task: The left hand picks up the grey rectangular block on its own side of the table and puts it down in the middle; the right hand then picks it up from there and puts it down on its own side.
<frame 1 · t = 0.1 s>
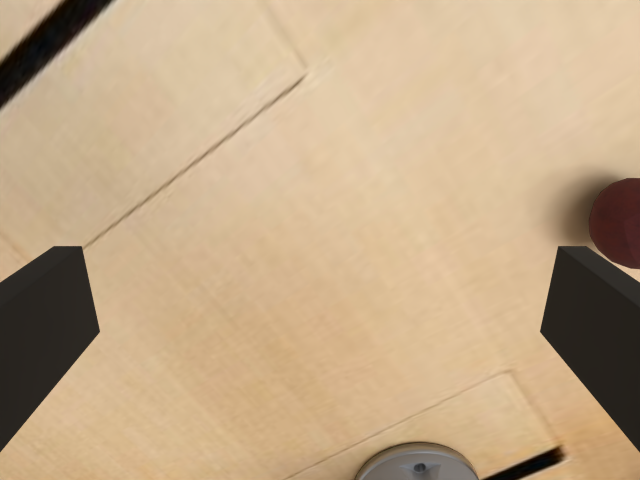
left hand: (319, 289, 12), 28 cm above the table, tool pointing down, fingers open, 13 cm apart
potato: (611, 209, 41), on the table
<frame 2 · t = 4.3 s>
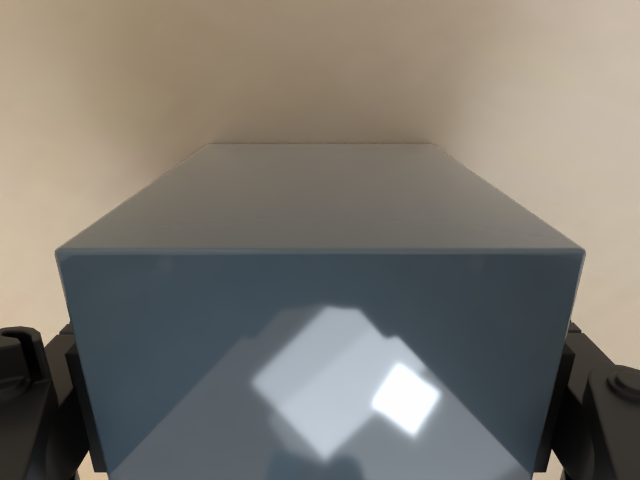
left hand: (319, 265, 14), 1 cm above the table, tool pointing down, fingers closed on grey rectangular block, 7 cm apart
grey rectangular block: (320, 248, 15), on the table, touching left hand
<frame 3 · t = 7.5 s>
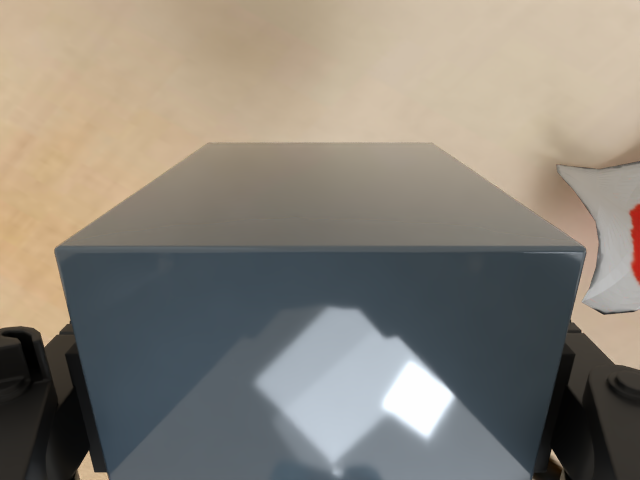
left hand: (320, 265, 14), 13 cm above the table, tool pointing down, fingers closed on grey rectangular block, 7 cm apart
fish: (628, 231, 28), on the table
grey rectangular block: (320, 248, 15), point 12 cm above the table, touching left hand
when the left hand's fingers open (3 cm above the table, at t = 10.6 s): grey rectangular block drops 2 cm, on the table.
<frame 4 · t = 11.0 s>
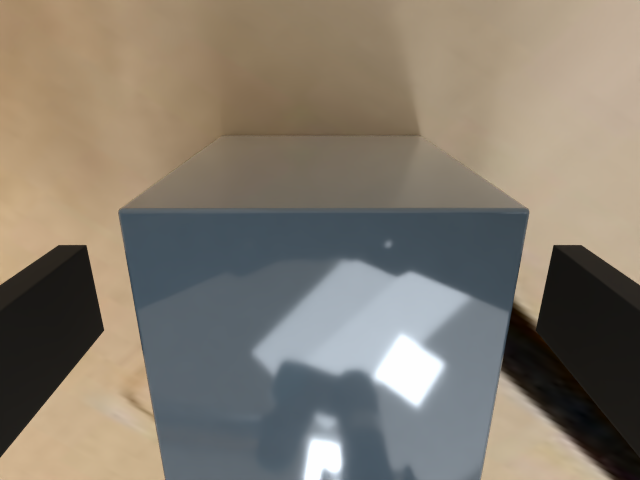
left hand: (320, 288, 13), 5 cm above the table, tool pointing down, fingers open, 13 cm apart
grey rectangular block: (321, 230, 17), on the table
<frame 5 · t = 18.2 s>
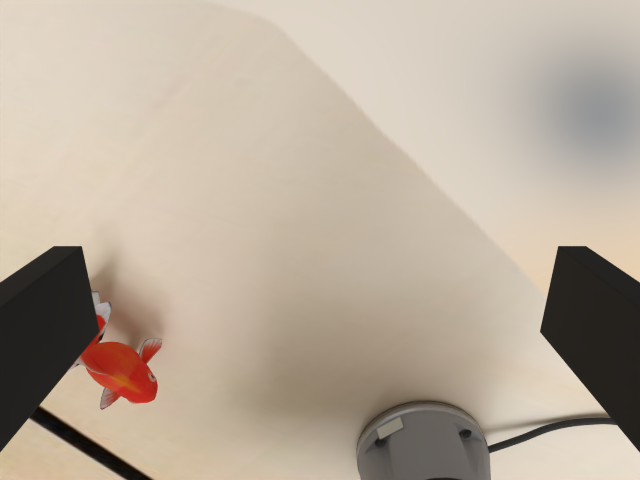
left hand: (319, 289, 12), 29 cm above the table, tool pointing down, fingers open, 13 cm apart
fish: (105, 325, 47), on the table
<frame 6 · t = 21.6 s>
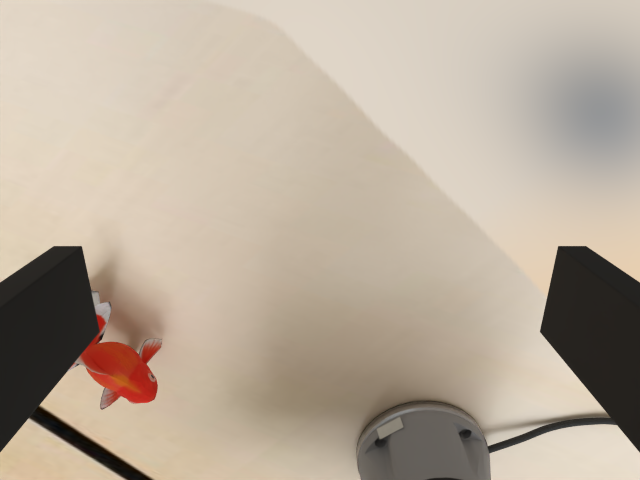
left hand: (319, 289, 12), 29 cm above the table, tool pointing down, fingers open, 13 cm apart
fish: (105, 325, 47), on the table
when the right hand's fingers open (3 cm above the table, at t = 24.8 s): grey rectangular block drops 2 cm, on the table.
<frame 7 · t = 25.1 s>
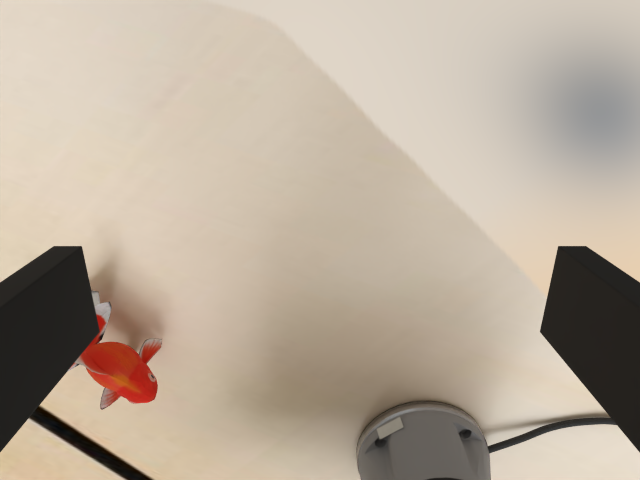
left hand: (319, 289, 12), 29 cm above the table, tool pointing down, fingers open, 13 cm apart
fish: (105, 325, 47), on the table
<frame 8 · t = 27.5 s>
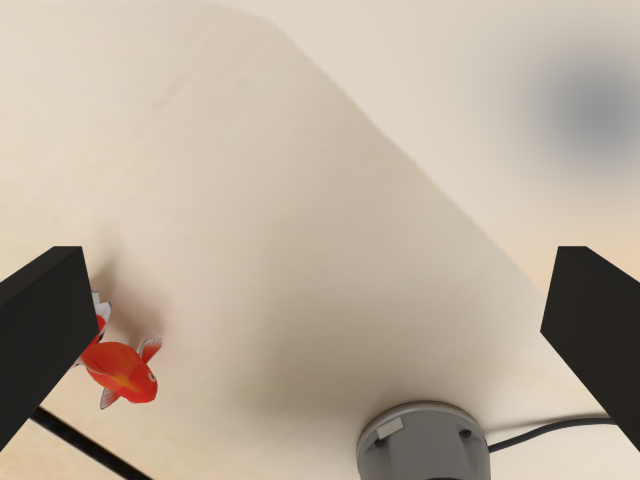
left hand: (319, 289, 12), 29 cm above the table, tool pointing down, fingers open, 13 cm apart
fish: (105, 325, 47), on the table
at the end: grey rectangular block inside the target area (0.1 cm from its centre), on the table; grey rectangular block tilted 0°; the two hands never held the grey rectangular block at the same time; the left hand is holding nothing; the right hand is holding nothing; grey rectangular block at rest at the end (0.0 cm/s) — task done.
